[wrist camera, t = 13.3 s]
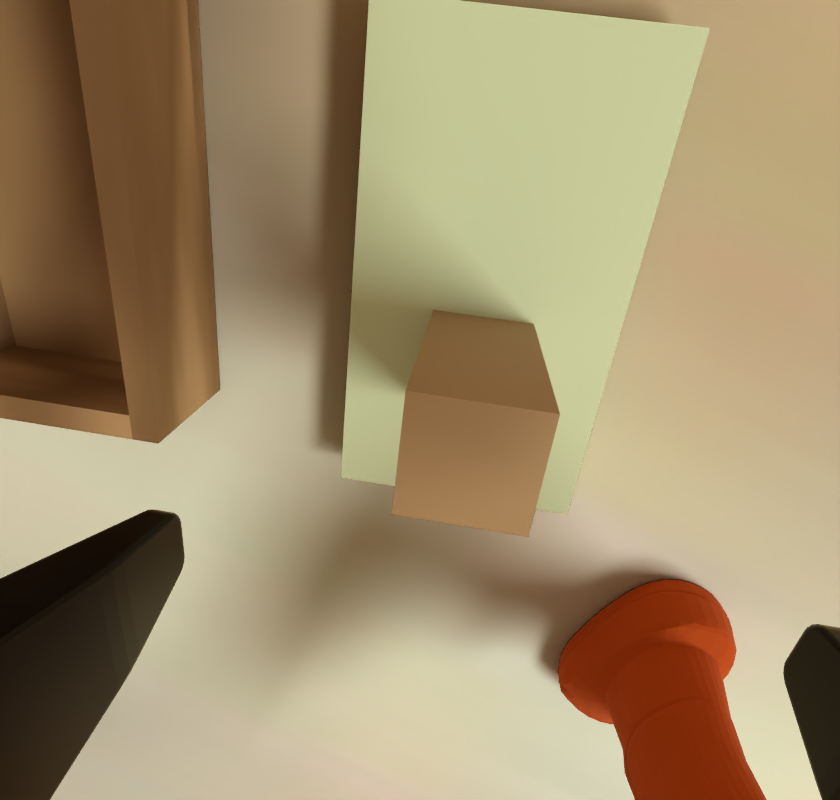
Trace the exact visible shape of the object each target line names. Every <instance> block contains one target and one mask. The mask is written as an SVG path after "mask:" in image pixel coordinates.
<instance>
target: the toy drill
mask: <svg viewBox="0 0 840 800" xmlns="http://www.w3.org/2000/svg"><path fill="white" fill-rule="evenodd" d="M735 655H736V646H735V642H734V637H733V632H732V628H731V625H730V621H729V618H728V617H727V614H726V613H725V611H724V610H723V608H722V606H721V605H720V603H719V602H718V601H717V599H716V598H715V597H714V596H713V595H712V594H711V593H709V592H708V591H706V590H705V589H704V588H702V587H699V586H697V585H695V584H692V583H689V582H685V581H681V580H661V581H656V582H651V583H647V584H645V585H642V586H640V587H638V588H636V589H633V590H631V591H630V592H628V593H626V594H625V595H623V596H621V597H620V598H618V599H617V600H615V601H614V602H612V603H611V604H610V605H608V606H607V607H605V608H604V609H603V610H601V611H600V612H599V613H598V614H596V615H595V616H594V617H593V618H592V619H591V620H590V621H589V622H587V623H586V624H585V625H584V626H583V627H582V628H581V629H580V630H579V631H578V632H577V633H576V634H575V635H574V636H573V638H572V639H571V640H570V641H569V642H568V643H567V645H566V647H565V648H564V650H563V652H562V654H561V658H560V662H559V667H558V674H559V683H560V688H561V692H562V693H563V694H564V695H565V697H566V698H567V699H568V700H569V701H570V702H571V703H572V704H573V705H574V706H575V707H576V708H577V709H578V710H579V711H581V712H582V713H584V714H585V715H587V716H588V717H590V718H593V719H595V720H598V721H600V722H604V723H608V724H614V726H615V729H616V732H617V734H618V737H619V740H620V742H621V745H622V748H623V754H624V768H625V774H626V777H627V780H628V782H629V785H630V788H631V790H632V793H633V795H634V798H635V800H766V798H765V796H764V794H763V792H762V790H761V789H760V787H759V785H758V783H757V781H756V779H755V777H754V775H753V773H752V771H751V769H750V768H749V766H748V764H747V762H746V759H745V756H744V753H743V750H742V747H741V745H740V742H739V739H738V736H737V733H736V730H735V727H734V725H733V722H732V720H731V717H730V711H729V706H728V702H727V697H726V692H725V687H724V683H723V679H724V678H725V677H726V676H727V675H728V673H729V671H730V669H731V668H732V666H733V663H734V660H735Z"/></svg>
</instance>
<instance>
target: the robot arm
mask: <svg viewBox="0 0 840 800" xmlns="http://www.w3.org/2000/svg"><path fill="white" fill-rule="evenodd" d="M183 564H184V547H183V537H182V528H181V521H180V518H179V516H178V515H176V514H175V513H171V512H165V511H159V510H147V511H145V512H142V513H140V514H138V515H136V516H134V517H132V518H129V519H127V520H125V521H123V522H121V523H119V524H117V525H114V526H112V527H110V528H108V529H106V530H104V531H102V532H99V533H97V534H95V535H93V536H91V537H89V538H86V539H84V540H82V541H80V542H78V543H76V544H74V545H71V546H69V547H67V548H65V549H63V550H61V551H59V552H56V553H54V554H52V555H50V556H48V557H46V558H44V559H41V560H39V561H37V562H35V563H33V564H31V565H28V566H26V567H24V568H22V569H20V570H18V571H16V572H13V573H11V574H9V575H7V576H5V577H3V578H1V579H0V800H50V799H51V797H52V796H53V794H54V792H55V791H56V789H57V788H58V786H59V784H60V783H61V781H62V780H63V778H64V777H65V775H66V773H67V772H68V770H69V769H70V767H71V765H72V764H73V762H74V761H75V759H76V758H77V756H78V754H79V753H80V751H81V750H82V748H83V747H84V745H85V743H86V742H87V740H88V739H89V737H90V735H91V734H92V732H93V731H94V729H95V728H96V726H97V724H98V723H99V721H100V720H101V718H102V716H103V715H104V713H105V712H106V710H107V709H108V707H109V705H110V704H111V702H112V701H113V699H114V697H115V696H116V694H117V693H118V691H119V690H120V688H121V686H122V685H123V683H124V681H125V680H126V678H127V676H128V675H129V673H130V671H131V670H132V668H133V666H134V664H135V662H136V660H137V658H138V656H139V655H140V653H141V651H142V649H143V647H144V645H145V643H146V641H147V639H148V637H149V635H150V633H151V631H152V629H153V627H154V625H155V623H156V621H157V619H158V617H159V615H160V613H161V611H162V609H163V607H164V605H165V603H166V601H167V599H168V597H169V595H170V593H171V591H172V589H173V587H174V585H175V583H176V581H177V579H178V577H179V575H180V573H181V571H182V568H183ZM784 681H785V685H786V688H787V691H788V694H789V697H790V700H791V704H792V707H793V710H794V713H795V716H796V720H797V723H798V726H799V729H800V732H801V735H802V739H803V742H804V745H805V748H806V751H807V755H808V758H809V761H810V764H811V767H812V770H813V774H814V777H815V780H816V783H817V786H818V789H819V792H820V795H821V798H822V800H840V628H837V627H832V626H826V625H820V624H813V625H811V626H809V627H807V628H806V630H805V631H804V632H803V634H802V636H801V637H800V639H799V641H798V642H797V644H796V645H795V647H794V649H793V650H792V652H791V653H790V655H789V657H788V658H787V660H786V662H785V665H784Z"/></svg>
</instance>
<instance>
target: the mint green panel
mask: <svg viewBox="0 0 840 800" xmlns="http://www.w3.org/2000/svg"><path fill="white" fill-rule="evenodd" d="M709 30H710V28H705V27H696V26H687V25H678V24H669V23H660V22H651V21H642V20H633V19H624V18H615V17H606V16H597V15H588V14H579V13H570V12H561V11H552V10H543V9H534V8H525V7H515V6H506V5H497V4H488V3H479V2H470V1H461V0H369V6H368V23H367V40H366V57H365V74H364V91H363V108H362V126H361V143H360V160H359V177H358V194H357V211H356V228H355V246H354V263H353V280H352V297H351V314H350V331H349V348H348V366H347V383H346V400H345V417H344V434H343V451H342V469H341V478H347V479H353V480H359V481H365V482H372V483H378V484H384V485H390V486H395V489H394V498H393V507H392V514H393V515H399V516H405V517H411V518H417V519H423V520H429V521H435V522H441V523H447V524H453V525H459V526H465V527H471V528H477V529H483V530H489V531H495V532H501V533H507V534H513V535H519V536H525V537H528V536H529V532H530V528H531V524H532V521H533V517H534V513H535V509H537V510H543V511H549V512H555V513H561V514H567V513H568V509H569V506H570V503H571V499H572V496H573V492H574V489H575V486H576V482H577V479H578V475H579V472H580V469H581V465H582V462H583V458H584V455H585V452H586V448H587V445H588V441H589V438H590V435H591V431H592V428H593V424H594V421H595V418H596V414H597V411H598V407H599V404H600V401H601V397H602V394H603V390H604V387H605V384H606V380H607V377H608V373H609V370H610V367H611V363H612V360H613V356H614V353H615V350H616V346H617V343H618V339H619V336H620V333H621V329H622V326H623V322H624V319H625V316H626V312H627V309H628V305H629V302H630V299H631V295H632V292H633V288H634V285H635V282H636V278H637V275H638V271H639V268H640V265H641V261H642V258H643V254H644V251H645V248H646V244H647V241H648V237H649V234H650V231H651V227H652V224H653V220H654V217H655V214H656V210H657V207H658V203H659V200H660V197H661V193H662V190H663V186H664V183H665V180H666V176H667V173H668V169H669V166H670V163H671V159H672V156H673V152H674V149H675V146H676V142H677V139H678V135H679V132H680V129H681V125H682V122H683V118H684V115H685V111H686V108H687V105H688V101H689V98H690V94H691V91H692V88H693V84H694V81H695V77H696V74H697V71H698V67H699V64H700V60H701V57H702V54H703V50H704V47H705V43H706V40H707V37H708V33H709Z"/></svg>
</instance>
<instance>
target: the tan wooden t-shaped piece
mask: <svg viewBox="0 0 840 800" xmlns="http://www.w3.org/2000/svg"><path fill="white" fill-rule="evenodd" d="M219 390H220V377H219V359H218V342H217V325H216V307H215V290H214V272H213V255H212V238H211V220H210V203H209V185H208V168H207V150H206V133H205V116H204V98H203V81H202V63H201V46H200V29H199V11H198V0H0V418H5V419H11V420H17V421H23V422H29V423H36V424H42V425H48V426H54V427H60V428H66V429H73V430H79V431H85V432H91V433H97V434H103V435H110V436H116V437H122V438H128V439H134V440H140V441H147V442H153V443H159V442H161V441H162V440H163V439H164V438H165V437H166V436H167V435H169V434H170V433H171V432H172V431H173V430H174V429H175V428H177V427H178V426H179V425H180V424H181V423H182V422H183V421H185V420H186V419H187V418H188V417H189V416H190V415H191V414H193V413H194V412H195V411H196V410H197V409H198V408H199V407H201V406H202V405H203V404H204V403H205V402H206V401H207V400H209V399H210V398H211V397H212V396H213V395H214V394H215V393H217V392H218V391H219Z"/></svg>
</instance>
